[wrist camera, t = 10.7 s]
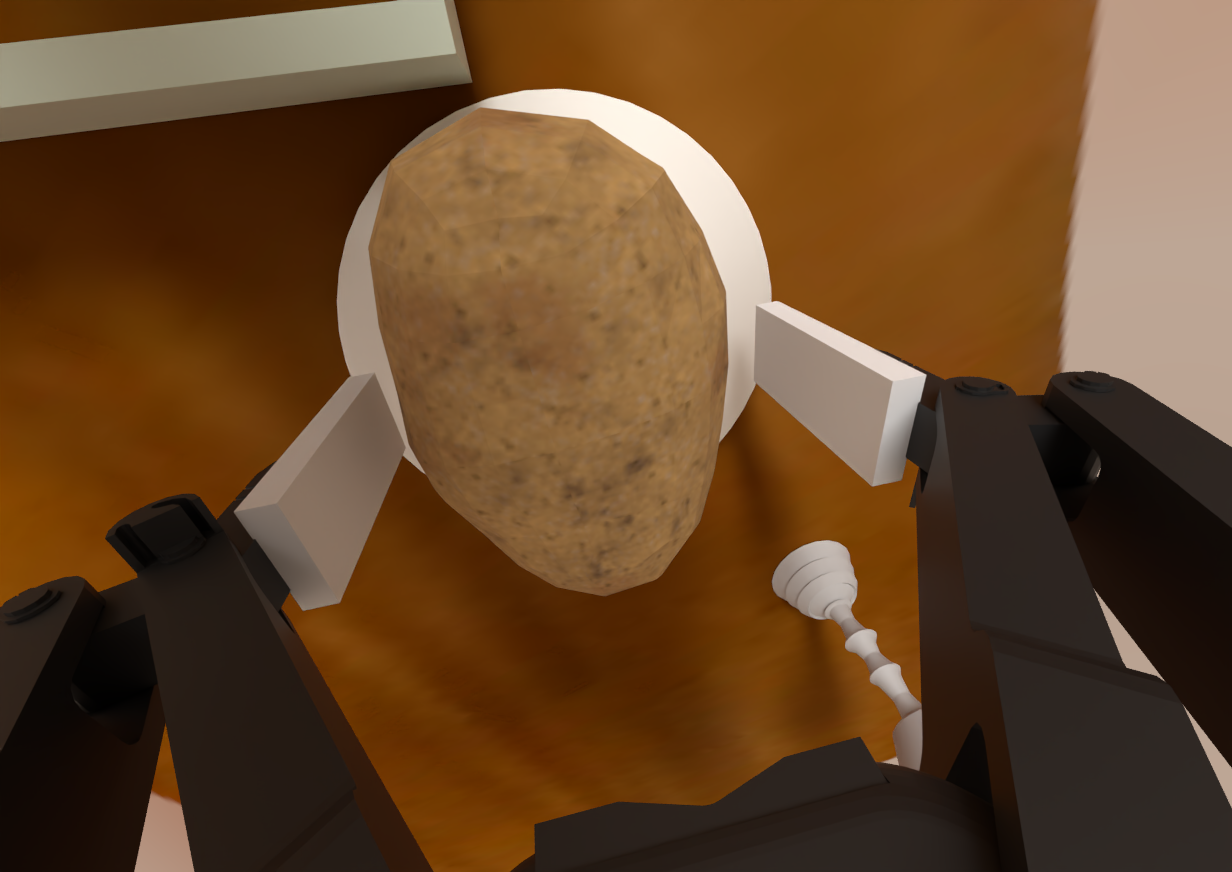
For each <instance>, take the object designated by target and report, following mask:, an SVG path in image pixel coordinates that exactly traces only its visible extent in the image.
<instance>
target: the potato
mask: <svg viewBox="0 0 1232 872" xmlns="http://www.w3.org/2000/svg"><path fill="white" fill-rule="evenodd" d="M368 250H369V258H370V265H371V273H372V280H373V287H374V295H375V302H376V310H377V317H378V325H379V329H380V333H381V336H382V340H383V344H384V347H385V351H386V355H387V358H388V362H389V366H390V369H391V373H392V376H393V380H394V384H395V387H396V391H397V395H398V399H399V404H400V408H401V413H402V417H403V422H404V426H405V431H406V435H407V440H408V444H409V446H410V448H411V450H412V451H413V453H414V455H415V457H416V459H417V460H418V462H419V464H420V465H421V467H422V469H423V471H424V472H425V474H426V476H427V477H428V479H429V481H430V482H431V484H432V486H433V487H434V489H435V490H436V491H437V493H438V494H439V495H440V496H441V497H442V499H443V500H444V501H445V502H446V503H447V504H448V505H450V506H451V507H452V508H453V509H454V510H456V511H457V512H458V513H459V514H460V515H461V516H463V517H464V518H465V519H466V520H467V521H469V522H470V523H471V524H472V525H473V526H475V527H476V528H477V529H478V530H479V531H481V532H482V533H483V534H484V535H485V536H486V537H487V538H489V539H490V540H491V541H492V542H493V543H494V544H495V545H496V546H497V547H499V548H500V549H501V550H502V551H503V552H504V553H505V554H506V555H507V556H509V557H510V558H511V559H512V560H513V561H514V562H515V563H516V564H517V565H519V566H520V567H522V568H524V569H526V570H527V571H529V572H531V573H533V574H534V575H536V576H538V577H540V578H541V579H543V580H545V581H547V582H548V583H550V584H552V585H554V586H555V587H558V588H564V589H569V590H574V591H579V592H585V593H590V594H595V595H600V596H608V595H611V594H614V593H617V592H620V591H623V590H626V589H629V588H632V587H635V586H638V585H641V584H644V583H647V582H650V581H653V580H656V579H657V578H659V577H660V576H661V575H662V574H663V573H664V571H665V570H666V569H667V567H668V566H669V564H670V563H671V562H672V560H673V559H674V557H675V556H676V555H677V553H678V552H679V550H680V549H681V548H682V546H683V545H684V543H685V542H686V541H687V539H688V538H689V536H690V535H691V534H692V532H693V531H694V530H695V528H696V527H697V525H698V524H699V522H700V520H701V516H702V513H703V509H704V506H705V502H706V499H707V495H708V491H709V488H710V484H711V481H712V477H713V474H714V470H715V464H716V458H717V452H718V446H719V439H720V433H721V427H722V421H723V412H724V402H725V393H726V383H727V374H728V364H729V363H728V334H727V304H726V290H725V287H724V284H723V282H722V279H721V277H720V274H719V272H718V269H717V267H716V264H715V261H714V259H713V256H712V254H711V251H710V249H709V246H708V244H707V241H706V238H705V236H704V233H703V231H702V229H701V227H700V226H699V224H698V223H697V221H696V219H695V218H694V216H693V215H692V213H691V211H690V210H689V208H688V207H687V205H686V204H685V202H684V200H683V199H682V197H681V196H680V194H679V192H678V191H677V189H676V188H675V186H674V184H673V183H672V181H671V180H670V178H669V177H668V175H667V173H666V171H665V170H664V168H663V167H661V166H660V165H658V164H656V163H655V162H653V161H651V160H650V159H648V158H646V157H645V156H643V155H641V154H640V153H638V152H637V151H635V150H634V149H632V148H631V147H629V146H628V145H626V144H625V143H623V142H622V141H620V140H619V139H617V138H616V137H614V136H613V135H611V134H609V133H608V132H606V131H605V130H603V129H602V128H600V127H599V126H597V125H596V124H594V123H593V122H591V121H590V120H587V119H578V118H569V117H561V116H552V115H543V114H535V113H526V112H517V111H508V110H500V109H491V108H482V107H480V108H478V109H476V110H475V111H473V112H471V113H470V114H468V115H466V116H465V117H463V118H461V119H460V120H458V121H456V122H455V123H453V124H451V125H450V126H448V127H446V128H445V129H443V130H441V131H440V132H438V133H436V134H435V135H433V136H431V137H430V138H428V139H426V140H424V141H423V142H421V143H419V144H418V145H416V146H414V147H413V148H411V149H409V150H408V151H406V152H404V153H403V154H401V155H399V156H398V157H396V158H394V159H393V160H391V161H390V165H389V168H388V172H387V176H386V180H385V184H384V188H383V192H382V196H381V199H380V203H379V207H378V211H377V215H376V219H375V223H374V227H373V231H372V234H371V238H370V242H369V246H368Z"/></svg>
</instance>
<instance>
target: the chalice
mask: <svg viewBox="0 0 1232 872" xmlns="http://www.w3.org/2000/svg"><path fill="white" fill-rule="evenodd" d="M772 585H773V590H774V591H775V593H776V594H777V595H778V596H779V597H781V598H782V599H784V600H786V601H788V602H789V604H790V605H792V606H793V607H795V608H797V609H799V610H800V612H801V613H803V614H805V615H807V616H809V617H812V618H815V619H834V620H835V621H836V622H837V623H838V624H839V625H840V626H841V627H842V630H843V632H844V634H845V637H846V643H845V648H846V649H847V650H848V651H850V652H853V653H857V654H858V655H859V656H860V657H861V658H862V659H864V660H865V661H866V664H867V667H868V669H869V672H870V682H871V683H873V684H875V685H877V686H879V687H880V688H881V689H882V690H883V691H884V692H885V693H886V694H887V695H888V696H889V697H890V698H891V699H892V700H893V701H894V703H895V705H896V707H897V709H898V711H899V713H900V715H901V717H902V719H901V720H900V721H899V723H898V724H897V726H896V727H895V729H894V731H893V740H894V744H895V749H896V753H897V758H898V762H899V766H905V767H908V768H911V769H915V770H918V771H919V769H920V763H921V756H922V704H921V703H920V702H919V701H918V700H917V699H915V698H914V697H913V696H912V695H911V694H910V692H909V690H908V688H907V686H906V685H905V683H904V681H903V679H902V677H901V668H900V666H899V665H897V664H895V663H893V662H890V661H889V660H888V659H887V658H885V657H884V656H883V655H882V654H881V653H880V652H879V649H878V647H877V644H876V638H877V634H876V632H875V631H873V630H870V629H866V628H864V627H863V626H862V625H861V624H860V623H859V622H857V621H856V620H855V619H854V617H853V614H852V612H851V607H852V604H853V602H854V601H855V598H856V596H857V580H856V578H855V576H854V569H853V567H852V565H851V563H850V554H849V553H848V551H847V549H846V547H844V546H843V545H841V544H840V543H838V542H833V541H828V540H827V541H816V542H813V543H810V544H807V545H804V546H802V547H800V548H798V549H796V550H795V551H793V552H791V553H790V554H789V555H788V556H787V557H786V558H785V559H783V560H782V561H781V563H780V564H779V566H778V567H777V569H776V570H775V572H774V575H773V579H772Z"/></svg>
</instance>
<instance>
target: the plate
mask: <svg viewBox="0 0 1232 872" xmlns="http://www.w3.org/2000/svg"><path fill="white" fill-rule="evenodd" d="M480 107H482V108H491V109H500V110H508V111H517V112H526V113H535V114H543V115H552V116H561V117H569V118H578V119H587V120H590V121H591V122H593V123H594V124H596V125H597V126H599V127H600V128H602V129H603V130H605V131H606V132H608V133H609V134H611V135H613V136H614V137H616V138H617V139H619V140H620V141H622V142H623V143H625V144H626V145H628V146H629V147H631V148H632V149H634V150H635V151H637V152H638V153H640V154H641V155H643V156H645V157H646V158H648V159H650V160H651V161H653V162H655V163H656V164H658V165H660V166H661V167H663V168H664V170H665V171H666V173H667V175H668V177H669V178H670V180H671V181H672V183H673V184H674V186H675V188H676V189H677V191H678V192H679V194H680V196H681V197H682V199H683V200H684V202H685V204H686V205H687V207H688V208H689V210H690V211H691V213H692V215H693V216H694V218H695V219H696V221H697V223H698V224H699V226H700V227H701V229H702V231H703V233H704V236H705V238H706V241H707V244H708V246H709V249H710V251H711V254H712V256H713V259H714V261H715V264H716V267H717V269H718V272H719V274H720V277H721V279H722V282H723V284H724V287H725V290H726V304H727V334H728V363H729V364H728V374H727V383H726V393H725V402H724V412H723V421H722V427H721V433H720V439H719V442H720V441H721V440H722V439H723V438H724V436H725V435H726V434H727V433H728V431H729V430H730V429H731V428H732V426H733V425H734V423H735V421H736V420H737V418H738V417H739V415H740V414H741V412H742V411H743V409H744V407H745V405H746V403H747V401H748V399H749V397H750V395H751V393H752V391H753V389H754V387H755V384H756V382H755V381H754V352H755V319H756V305H758V304H764V303H770V302H771V284H770V277H769V270H768V263H767V258H766V255H765V251H764V248H763V244H762V241H761V237H760V234H759V231H758V229H757V226H756V224H755V222H754V220H753V217H752V215H751V213H750V210H749V208H748V206H747V204H746V203H745V201H744V199H743V198H742V196H741V194H740V193H739V191H738V190H737V188H736V186H735V185H734V183H733V181H732V180H731V179H730V178H729V176H728V175H727V174H726V173H725V172H724V170H723V169H722V168H721V167H720V165H719V164H718V163H717V162H716V161H715V159H714V158H713V157H712V156H711V155H710V154H709V153H708V152H707V151H705V150H704V149H703V148H702V147H701V146H700V145H699V144H698V143H697V142H695V141H694V140H693V139H692V138H691V137H690V136H689V135H688V134H686V133H685V132H683V131H681V130H680V129H678V128H677V127H675V126H674V125H672V124H671V123H669V122H668V121H666V120H665V119H663V118H662V117H660V116H658V115H656V114H654V113H652V112H649V111H647V110H645V109H643V108H641V107H638V106H636V105H634V104H632V103H630V102H626V101H623V100H619V99H616V98H612V97H609V96H605V95H602V94H598V93H592V92H584V91H575V90H566V89H546V90H525V91H520V92H515V93H511V94H506V95H501V96H497V97H492V98H488V99H486V100H483V101H481V102H478V103H476V104H473V105H470V106H468V107H465V108H463V109H460V110H458V111H456V112H454V113H452V114H451V115H449V116H447V117H446V118H444V119H442V120H440V121H439V122H437V123H435V124H434V125H432V126H430V127H429V128H427V129H425V130H424V131H423V132H422V133H421V134H420V135H418V136H417V137H416V138H415V139H414V140H413V141H411V142H410V143H409V144H408V145H407V146H405V147H404V148H403V149H402V150H401V151H400V152H398V154H397V155H396V156H395V157H394V158H396V157H398V156H399V155H401V154H403V153H404V152H406V151H408V150H409V149H411V148H413V147H414V146H416V145H418V144H419V143H421V142H423V141H424V140H426V139H428V138H430V137H431V136H433V135H435V134H436V133H438V132H440V131H441V130H443V129H445V128H446V127H448V126H450V125H451V124H453V123H455V122H456V121H458V120H460V119H461V118H463V117H465V116H466V115H468V114H470V113H471V112H473V111H475V110H476V109H478V108H480ZM394 158H393V159H394ZM389 165H390V163H389V164H388V165H387V167H386V168H385V169H384V170H383V171H382V173H381V174H380V175H379V176H378V177H377V178H376V180H375V182H374V183H373V185H372V187H371V188H370V190H369V192H368V193H367V195H366V197H365V198H364V200H363V202H362V203H361V205H360V207H359V208H358V211H357V213H356V216H355V218H354V221H353V223H352V226H351V228H350V231H349V233H348V236H347V238H346V242H345V247H344V251H343V255H342V260H341V264H340V268H339V278H338V292H337V312H338V325H339V335H340V339H341V344H342V348H343V353H344V357H345V362H346V364H347V367H348V370H349V372H350V375H351V377H352V376H357V375H363V374H369V373H374V372H375V375H376V377H377V380H378V382H379V384H380V387H381V389H382V392H383V394H384V396H385V399H386V401H387V403H388V406H389V408H390V411H391V413H392V415H393V418H394V420H395V422H396V425H397V427H398V430H399V432H400V434H401V437H402V439H403V442H404V444H405V446H406V449H405V451H404V453H403V456H404V457H405V458H406V459H407V460H409V461H410V462H411V463H412V464H413V465H414V466H416V467H417V468H418V469H419V470H420V471H421V472H423V473H424V474H425V472H424V471H423V469H422V467H421V465H420V464H419V462H418V460H417V459H416V457H415V455H414V453H413V451H412V450H411V448H410V446H409V444H408V440H407V435H406V431H405V426H404V422H403V417H402V413H401V408H400V404H399V399H398V395H397V391H396V387H395V384H394V380H393V376H392V373H391V369H390V366H389V362H388V358H387V355H386V351H385V347H384V344H383V340H382V336H381V333H380V329H379V325H378V317H377V310H376V302H375V295H374V287H373V280H372V273H371V265H370V258H369V250H368V246H369V242H370V238H371V234H372V231H373V227H374V223H375V219H376V215H377V211H378V207H379V203H380V199H381V196H382V192H383V188H384V184H385V180H386V176H387V172H388V168H389Z"/></svg>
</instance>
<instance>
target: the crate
mask: <svg viewBox="0 0 1232 872" xmlns="http://www.w3.org/2000/svg"><path fill="white" fill-rule="evenodd" d="M466 83H472V79H471V75H470V70H469V66H468V61H467V57H466V52H465V48H464V44H463V39H462V35H461V30H460V26H459V21H458V17H457V13H456V8H455V4H454V0H397V1H391V2H382V3H373V4H363V5H354V6H345V7H336V8H327V9H317V10H308V11H299V12H290V13H280V14H271V15H262V16H253V17H243V18H234V19H225V20H216V21H206V22H197V23H188V24H179V25H170V26H160V27H151V28H142V29H133V30H123V31H114V32H105V33H96V34H86V35H77V36H68V37H59V38H50V39H40V40H31V41H22V42H13V43H3V44H0V142H4V141H12V140H19V139H27V138H35V137H43V136H51V135H59V134H67V133H75V132H83V131H91V130H99V129H107V128H115V127H123V126H131V125H139V124H147V123H155V122H163V121H171V120H179V119H187V118H195V117H203V116H211V115H219V114H227V113H235V112H243V111H251V110H259V109H267V108H275V107H283V106H291V105H299V104H307V103H315V102H323V101H331V100H338V99H346V98H354V97H362V96H370V95H378V94H386V93H394V92H402V91H410V90H418V89H426V88H434V87H442V86H450V85H458V84H466Z"/></svg>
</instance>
